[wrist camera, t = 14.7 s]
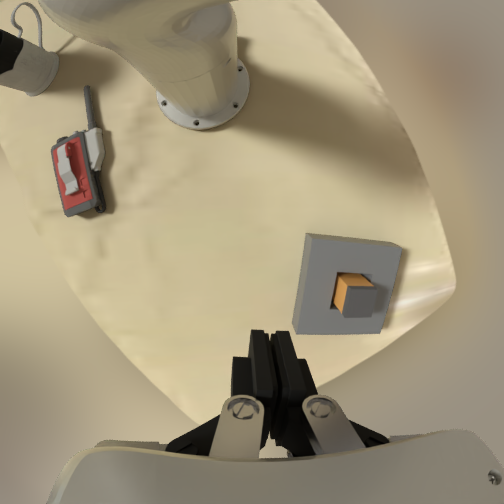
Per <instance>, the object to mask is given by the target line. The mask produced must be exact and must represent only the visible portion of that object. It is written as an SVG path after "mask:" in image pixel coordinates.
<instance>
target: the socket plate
mask: <svg viewBox="0 0 504 504" xmlns="http://www.w3.org/2000/svg"><path fill="white" fill-rule="evenodd" d="M401 252H402V247H400V246H398V245H396V244H393V243H391V242H385V241H376V240H367V239H358V238H349V237H340V236H330V235H321V234H311V233H306V237H305V244H304V251H303V258H302V265H301V272H300V278H299V284H298V291H297V297H296V303H295V308H294V314H293V320H292V324H293V327H294V330H295V332H296V334H307V335H347V334H380V332H381V329H382V326H383V323H384V319H385V316H386V313H387V309H388V306H389V302H390V298H391V295H392V291H393V287H394V283H395V279H396V275H397V270H398V266H399V262H400V257H401ZM337 272H347V273H360V274H361V275H362V276H363V277H364V278H365V279H366V280H368V281H369V282H370V283H371V284H372V285H373V286H374V287H376V288H377V289H378V292H377V297H376V301H375V305H374V309H373V313H372V317H368V318H344V316H343V315H342V314H341V312H340V311H339V309H338V308H337V306H336V305H335V304H334V302H333V301H332V295H333V291H334V286H335V281H336V275H337Z"/></svg>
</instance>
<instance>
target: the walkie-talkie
mask: <svg viewBox="0 0 504 504" xmlns="http://www.w3.org/2000/svg"><path fill="white" fill-rule="evenodd" d="M84 96H85V104H86V112H87V119H88V129H89V131H88V132H86V130H82V131H81V132H78V131H75V132H73V135H72V136H70V137H62V138H59V139H58V140H57V144H56V145H54V146H53V147H52V149H51V155H52V160H53V166H54V171H55V176H56V180H57V184H58V189H59V194H60V198H61V201H62V205H63V209H64V213H65V215H66V216H67V217H71V216H74V215H77V214H80V213H82V212H84V211H87V210H89V209H92V208H94V207H95V209H96V211H97V212H98V213H102V212H104V211H105V209H106V204H105V200H104V196H103V192H102V188H101V184H100V180H99V175H100V170H101V165H102V162H103V159H104V156H105V149H104V144H103V139H102V129H100V128H97V126H96V122H95V120H94V113H93V107H92V100H91V94H90V86H88V85H87V86H85V87H84ZM99 205H102V210H100V209H99V207H98V206H99Z"/></svg>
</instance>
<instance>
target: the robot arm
mask: <svg viewBox="0 0 504 504" xmlns="http://www.w3.org/2000/svg"><path fill="white" fill-rule="evenodd" d="M232 1H237V0H38V2H39V4H40V6H41V7H42V9H43V10H44V12H45V13H46V14H47V15H48V16H49V17H50V18H51V20H52V21H53V22H55V23H56V24H57V25H59V26H60V27H61V28H63V29H65V30H66V31H68V32H69V33H71V34H73V35H75V36H77V37H79V38H81V39H84V40H86V41H89V42H91V43H94V44H97V45H100V46H102V47H105V48H108V49H110V50H112V51H114V52H116V53H118V54H119V55H120V56H122V57H123V58H124V59H125V60H127V61H128V62H129V63H130V64H131V65H132V66H133V67H134V68H135V69H136V70H137V71H138V72H139V73H140V74H141V75H142V76H143V77H144V78H145V79H146V80H147V81H148V82H149V83H150V84H151V85H152V86H153V87H154V88H155V89H156V96H157V102H158V104H159V107H160V109H161V110H162V112H163V113H164V115H165V116H166V117H167V118H168V119H170V120H171V121H172V122H174V123H175V124H177V125H179V126H181V127H184V128H188V129H195V130H203V129H210V128H214V127H217V126H220V125H222V124H224V123H226V122H227V121H229V120H230V119H232V118H233V117H234V116H235V115H236V114H237V113H238V112H239V111H240V110H241V109H242V107H243V106H244V104H245V102H246V100H247V97H248V93H249V86H250V81H249V75H248V72H247V69H246V67H245V66H244V64H243V63H242V61H241V60H240V59H239V58H238V57H237V19H236V15H235V12H234V10H233V8H232V6H231V4H230V2H232ZM238 70H242V71H241V72H239V71H238ZM165 103H167V105H166V106H164V104H165ZM235 105H237V106H238V107H237V108H234V106H235ZM197 122H199V125H198V126H197V125H196V123H197ZM269 431H270V438H271V439H275V442H276V446H282V447H284V448H286V449H287V456H288V458H259V451H260V450H261V449H262V448H263V447H264V446H265V444H266V440H267V439H268V434H269ZM46 504H504V468H503V466H502V465H501V463H500V462H499V461H498V459H497V458H496V456H495V455H494V454H493V452H492V451H491V450H490V448H489V447H488V446H487V445H486V444H485V442H484V441H483V440H482V439H481V438H480V437H479V436H477V435H476V434H475V433H474V432H471V431H468V430H462V429H450V430H441V431H436V432H431V433H427V434H417V435H403V436H390V437H389V438H386V437H385V436H383V435H381V434H379V433H377V432H375V431H372V430H370V429H368V428H366V427H363V426H361V425H359V424H357V423H355V422H352V421H351V420H348V418H347V417H346V415H345V414H344V412H343V411H342V409H341V407H340V406H339V404H338V403H337V402H336V401H335V400H334V399H332V398H331V397H328V396H325V395H318V393H317V390H316V387H315V384H314V381H313V378H312V375H311V373H310V370H309V367H308V364H307V361H306V359H297V356H296V353H295V349H294V346H293V343H292V340H291V337H290V333H289V331H276V333H275V334H271V338H270V340H269V335H268V333H264V330H252V329H251V335H250V344H249V353H248V357H233V363H232V377H231V397H230V398H228V399H227V400H226V401H225V403H224V404H223V408H222V411H221V414H220V415H218V416H216V417H215V418H213V419H211V420H209V421H208V422H206V423H204V424H202V425H201V426H199V427H197V428H195V429H194V430H191V431H190V432H188V433H186V434H184V435H182V436H180V437H178V438H176V439H174V440H173V441H171V442H170V443H169V444H159V442H136V441H118V440H104V441H101V442H99V443H98V444H97V445H96V446H95V447H94V448H91V449H86V450H83V451H80V452H78V453H77V454H75V455H74V456H73V457H72V458H71V459H70V460H69V461H68V462H67V464H66V465H65V466H64V468H63V469H62V471H61V473H60V474H59V477H58V478H57V480H56V482H55V484H54V486H53V489H52V491H51V493H50V496H49V498H48V501H47V503H46Z"/></svg>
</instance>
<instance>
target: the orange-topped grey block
mask: <svg viewBox="0 0 504 504" xmlns="http://www.w3.org/2000/svg"><path fill="white" fill-rule="evenodd" d="M377 292H378V289H377V288H376V287H374V286H373V285H372V284H371V283H370V282H369V281H368V280H366V279H365V278H364V277H363V276H362V275H361V274H360V273H347V272H337V275H336V281H335V286H334V291H333V295H332V301H333V302H334V304H335V305H336V306H337V308H338V309H339V311H340V312H341V314H342V315H343V316H344V318H368V317H372V313H373V309H374V305H375V301H376V297H377Z"/></svg>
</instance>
